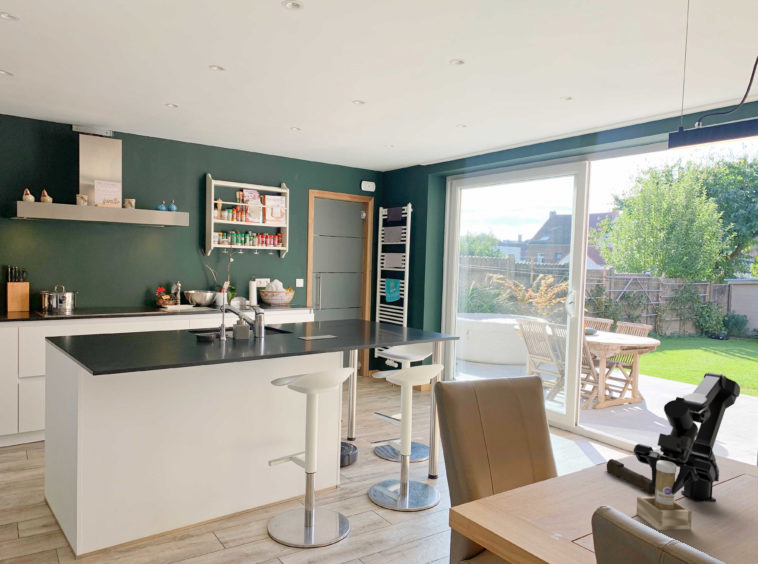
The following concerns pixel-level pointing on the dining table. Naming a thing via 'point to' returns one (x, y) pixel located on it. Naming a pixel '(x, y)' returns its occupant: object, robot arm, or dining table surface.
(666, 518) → the beech holder
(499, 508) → the dining table surface
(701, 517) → the dining table surface
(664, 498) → the sprinkles bottle
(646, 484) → the hand tool
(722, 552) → the dining table surface
